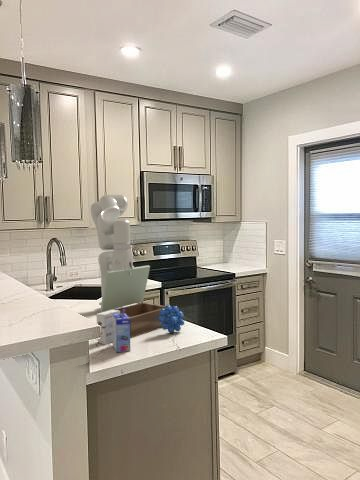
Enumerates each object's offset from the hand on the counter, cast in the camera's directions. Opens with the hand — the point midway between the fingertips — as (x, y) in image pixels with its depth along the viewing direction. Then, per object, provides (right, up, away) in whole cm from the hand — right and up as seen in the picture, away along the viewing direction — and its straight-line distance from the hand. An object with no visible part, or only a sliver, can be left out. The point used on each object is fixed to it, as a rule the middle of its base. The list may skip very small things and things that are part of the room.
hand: (123, 286), depth 180 cm
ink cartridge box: (+4, -19, -33) cm, 38 cm away
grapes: (+23, -18, -16) cm, 33 cm away
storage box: (+7, -18, -5) cm, 20 cm away
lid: (+2, 0, -2) cm, 3 cm away
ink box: (-2, -19, -23) cm, 30 cm away
